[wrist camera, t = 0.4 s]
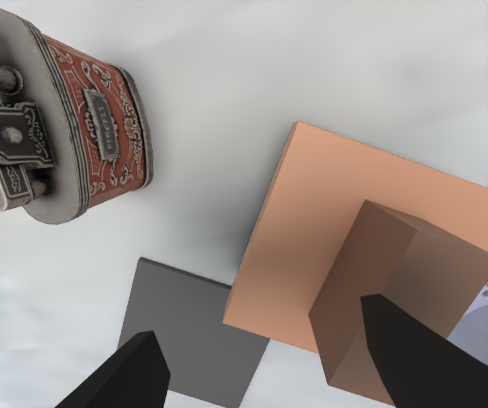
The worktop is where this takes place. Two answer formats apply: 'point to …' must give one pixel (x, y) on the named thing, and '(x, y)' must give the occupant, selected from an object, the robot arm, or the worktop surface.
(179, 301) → the mat
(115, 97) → the ornate red tin
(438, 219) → the lid
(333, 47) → the worktop surface
